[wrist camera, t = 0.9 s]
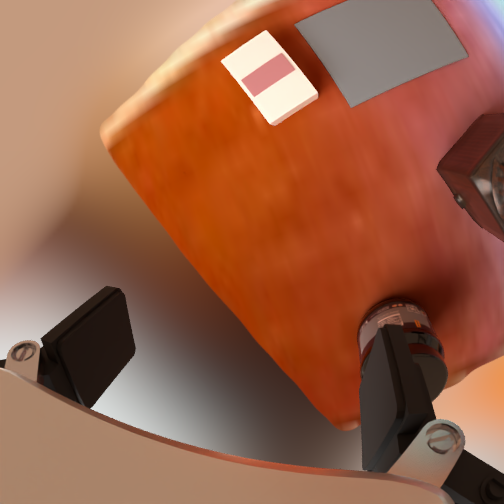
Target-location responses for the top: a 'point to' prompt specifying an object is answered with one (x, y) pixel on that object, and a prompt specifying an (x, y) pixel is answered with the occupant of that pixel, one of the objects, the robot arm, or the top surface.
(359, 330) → the supplement container
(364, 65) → the mat
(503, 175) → the vintage coffee grinder
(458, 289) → the top surface
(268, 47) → the card box
